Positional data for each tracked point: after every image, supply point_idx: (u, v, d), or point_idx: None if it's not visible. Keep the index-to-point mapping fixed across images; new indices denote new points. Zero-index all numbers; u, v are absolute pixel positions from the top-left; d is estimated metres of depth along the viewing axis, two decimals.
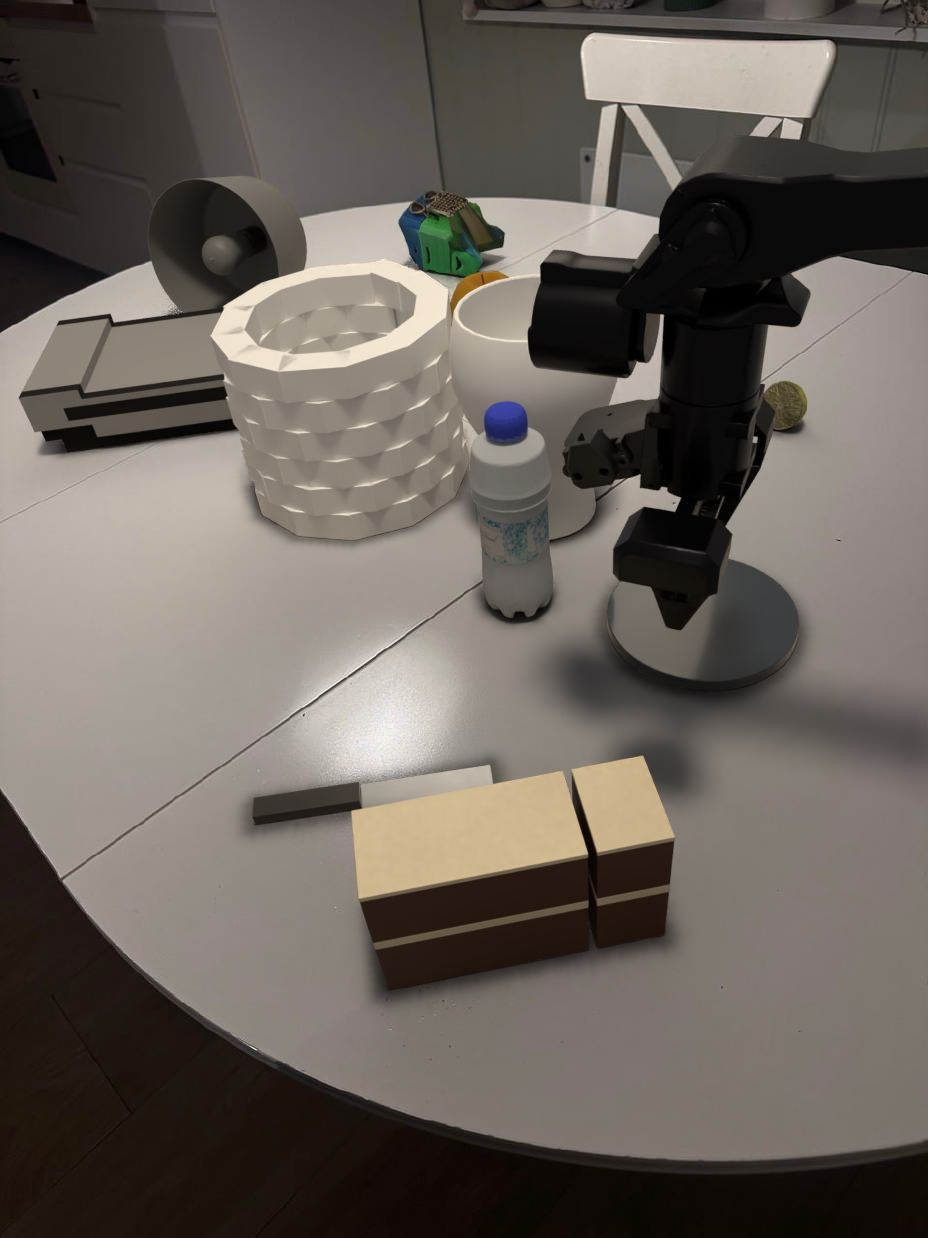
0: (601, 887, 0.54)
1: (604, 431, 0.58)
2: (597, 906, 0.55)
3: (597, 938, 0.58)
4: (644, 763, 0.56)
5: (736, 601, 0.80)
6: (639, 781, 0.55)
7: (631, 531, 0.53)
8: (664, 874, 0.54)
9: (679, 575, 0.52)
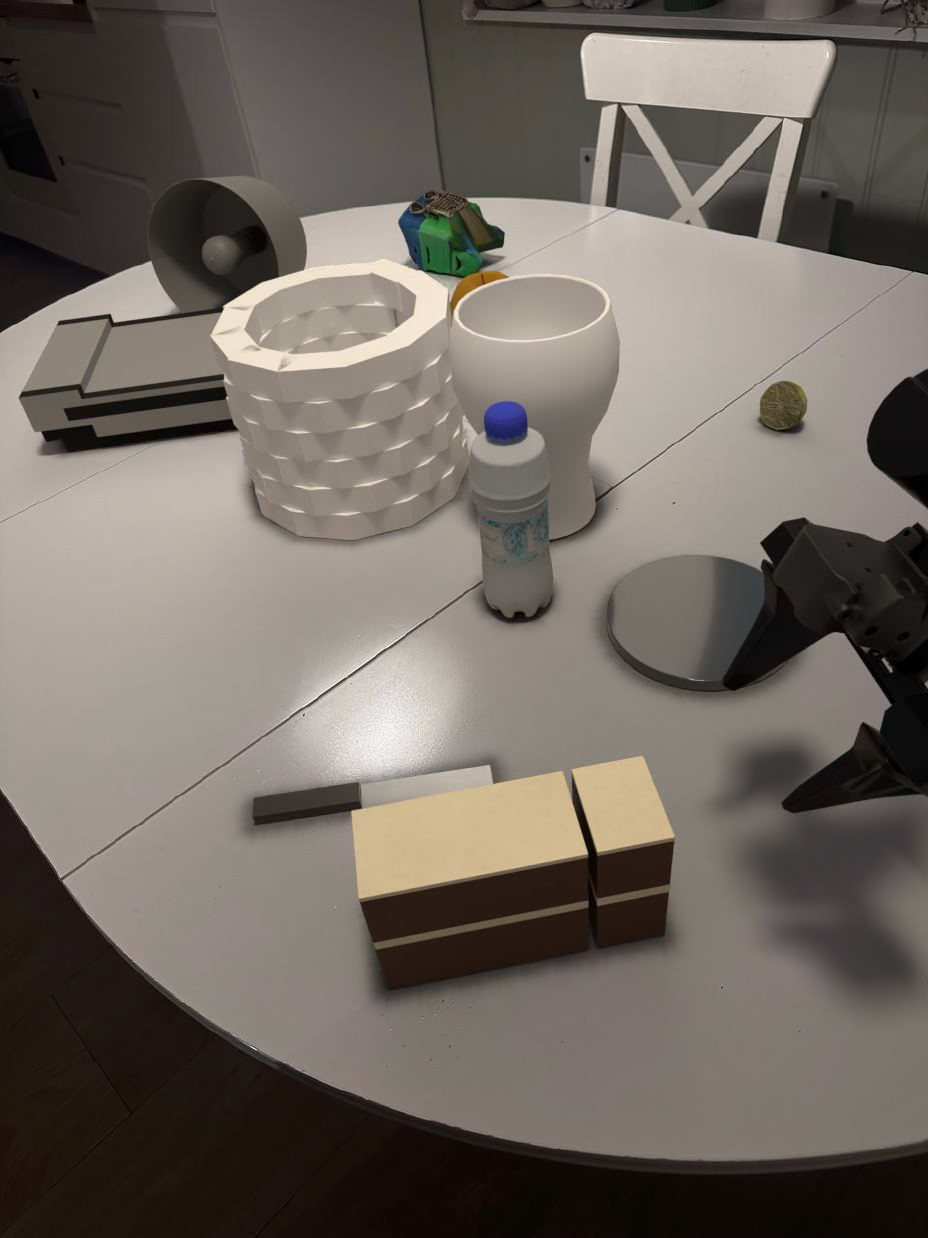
0: (601, 887, 0.54)
1: (876, 574, 0.44)
2: (597, 906, 0.55)
3: (597, 938, 0.58)
4: (644, 763, 0.56)
5: (736, 601, 0.80)
6: (639, 781, 0.55)
7: None
8: (664, 874, 0.54)
9: None
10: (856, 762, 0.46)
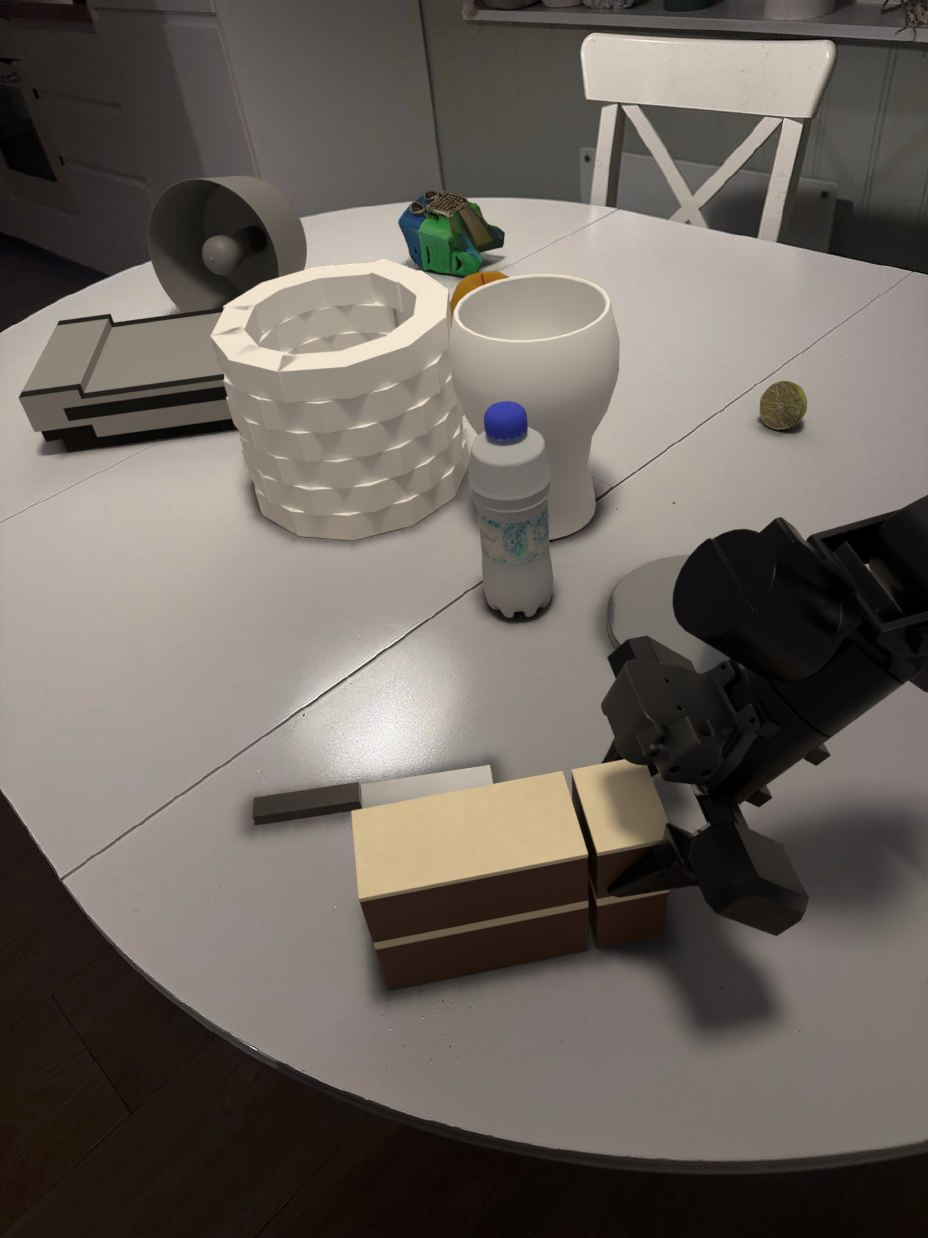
0: (601, 887, 0.54)
1: (686, 712, 0.47)
2: (597, 906, 0.55)
3: (597, 938, 0.58)
4: None
5: None
6: (639, 781, 0.55)
7: (746, 861, 0.45)
8: None
9: (778, 917, 0.47)
10: (664, 857, 0.51)
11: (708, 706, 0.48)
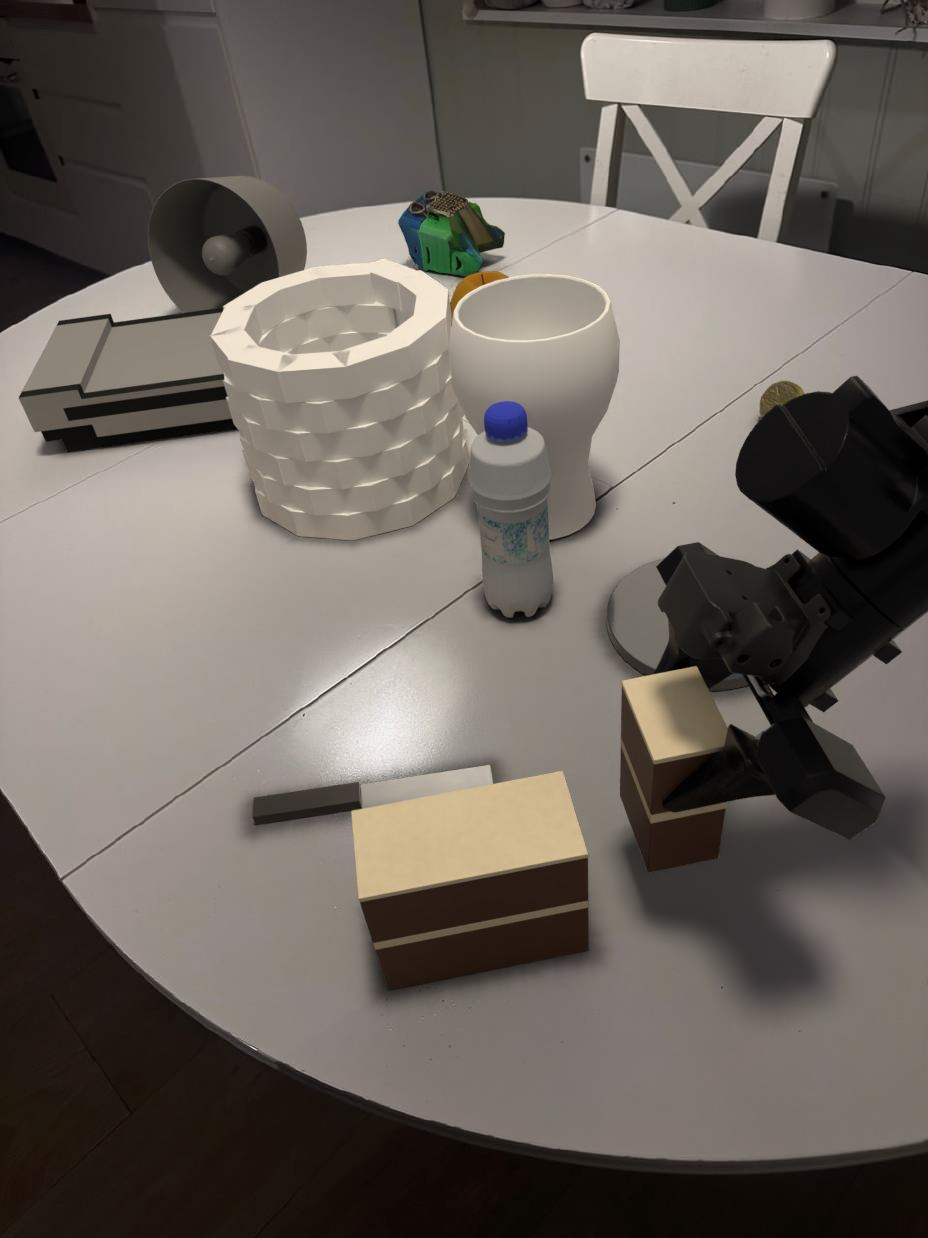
0: (656, 801, 0.51)
1: (752, 602, 0.45)
2: (650, 824, 0.53)
3: (648, 861, 0.55)
4: (698, 673, 0.53)
5: None
6: (694, 690, 0.52)
7: (820, 754, 0.43)
8: None
9: (853, 816, 0.44)
10: (726, 762, 0.48)
11: (774, 598, 0.46)
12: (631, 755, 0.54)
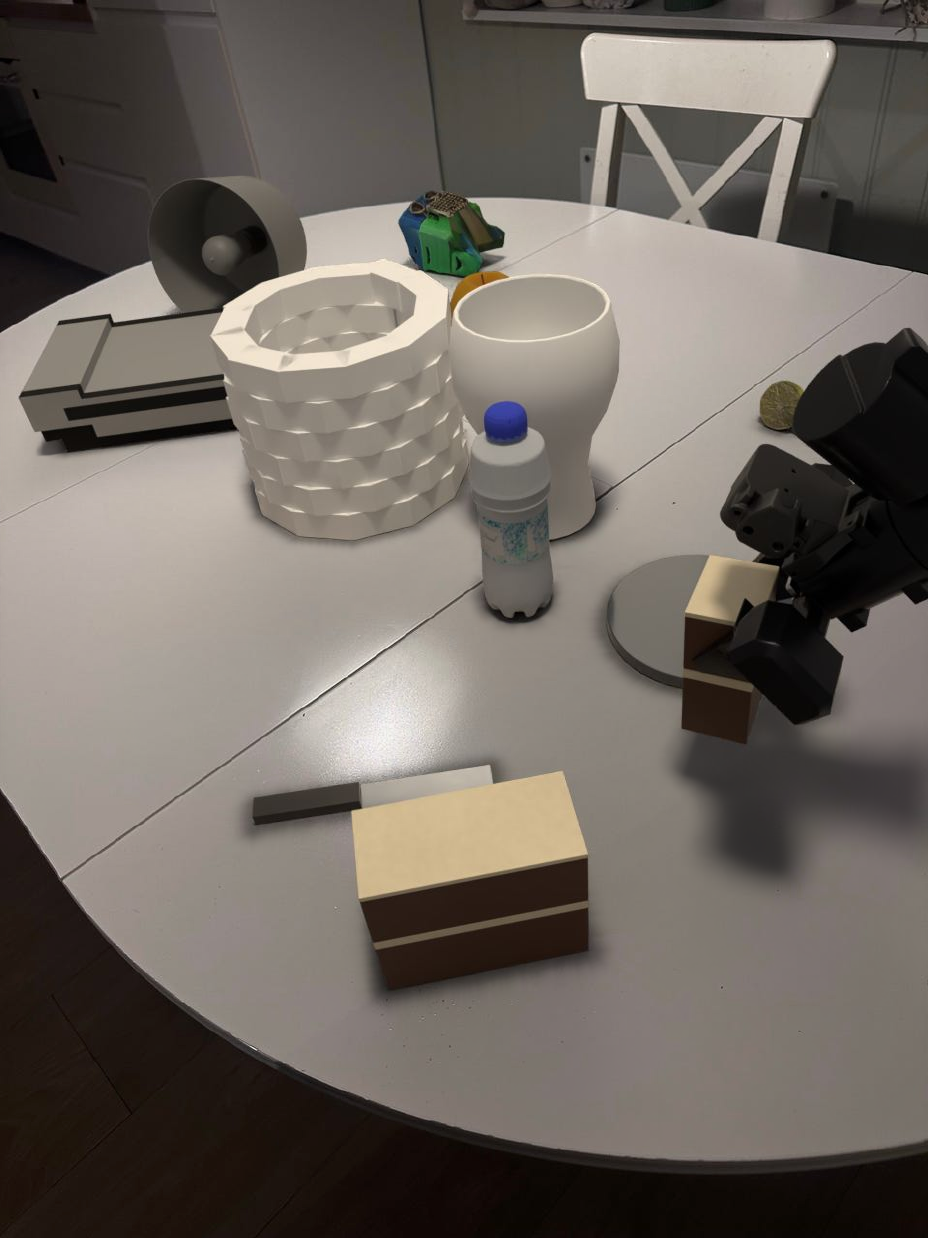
0: (687, 655, 0.60)
1: (791, 495, 0.51)
2: (683, 677, 0.61)
3: (682, 716, 0.64)
4: (775, 571, 0.59)
5: None
6: (760, 581, 0.58)
7: (779, 631, 0.49)
8: None
9: (794, 699, 0.50)
10: None
11: (819, 502, 0.51)
12: None
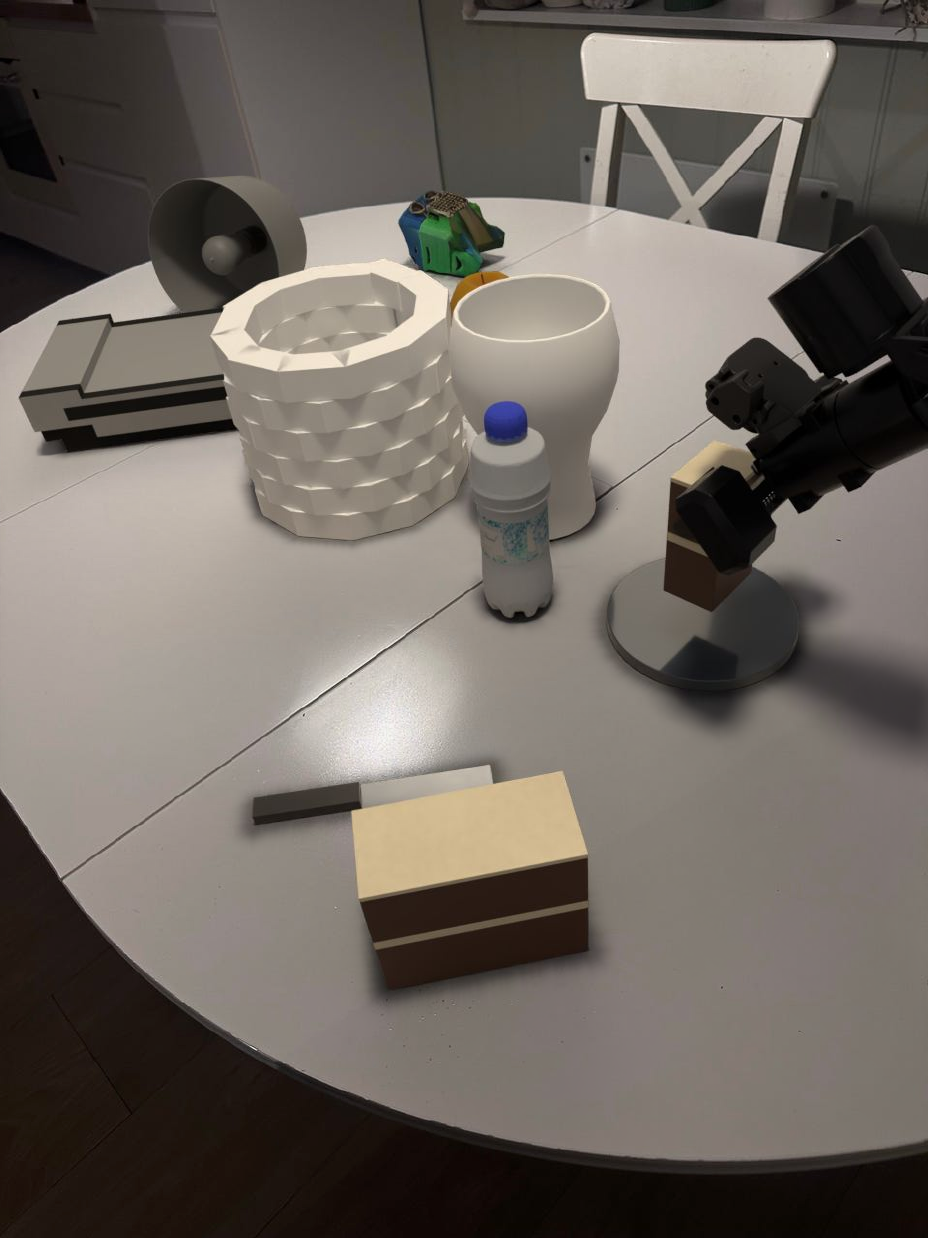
0: (670, 519, 0.69)
1: (762, 380, 0.59)
2: None
3: (664, 578, 0.74)
4: None
5: (736, 601, 0.80)
6: (745, 466, 0.67)
7: (717, 487, 0.58)
8: None
9: (719, 547, 0.59)
10: None
11: (787, 391, 0.59)
12: None
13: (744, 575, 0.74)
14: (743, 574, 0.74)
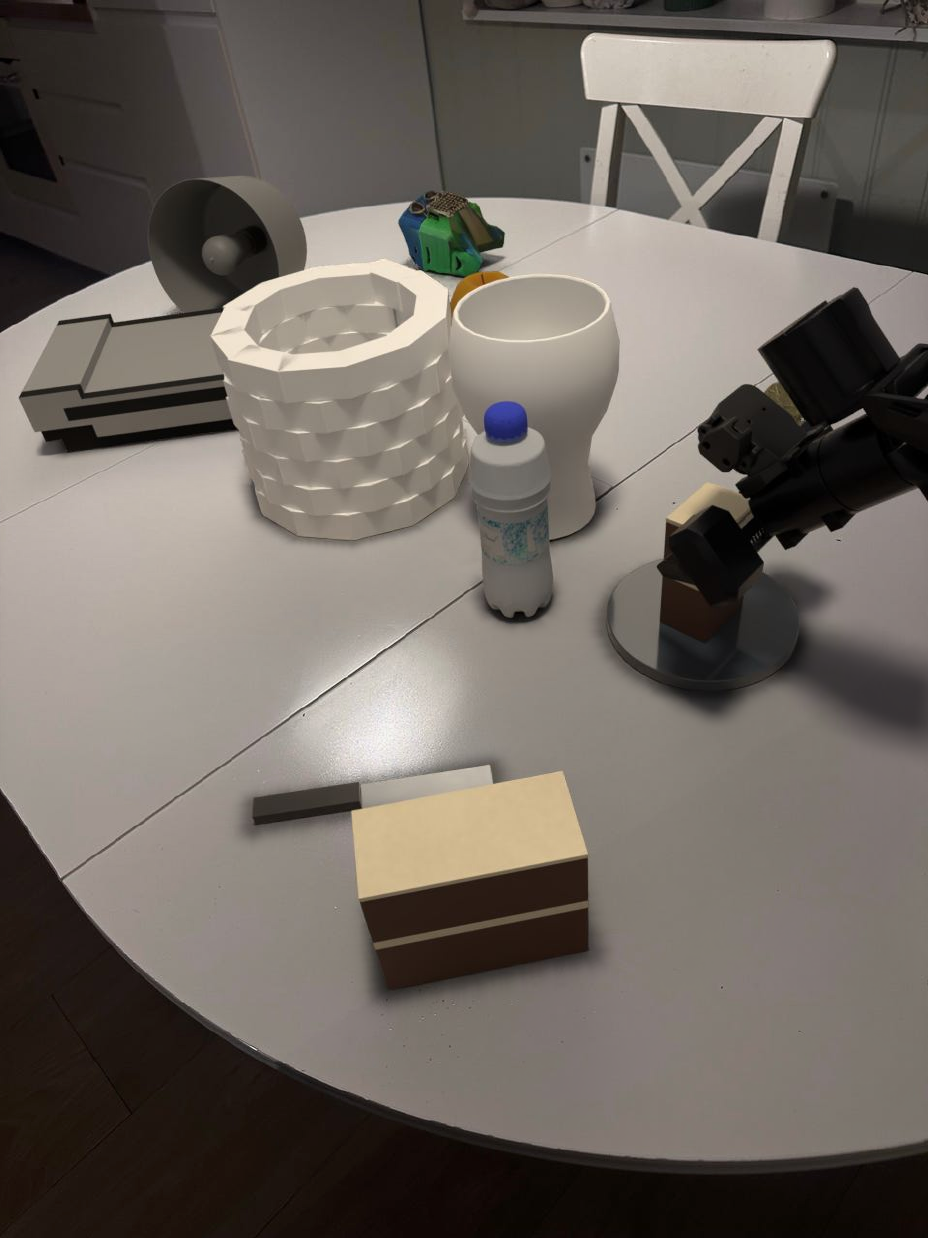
0: (666, 556, 0.74)
1: (751, 426, 0.63)
2: None
3: (660, 610, 0.78)
4: None
5: None
6: (736, 507, 0.71)
7: (708, 526, 0.62)
8: None
9: (709, 583, 0.63)
10: None
11: (774, 436, 0.63)
12: None
13: (736, 607, 0.78)
14: (735, 606, 0.78)
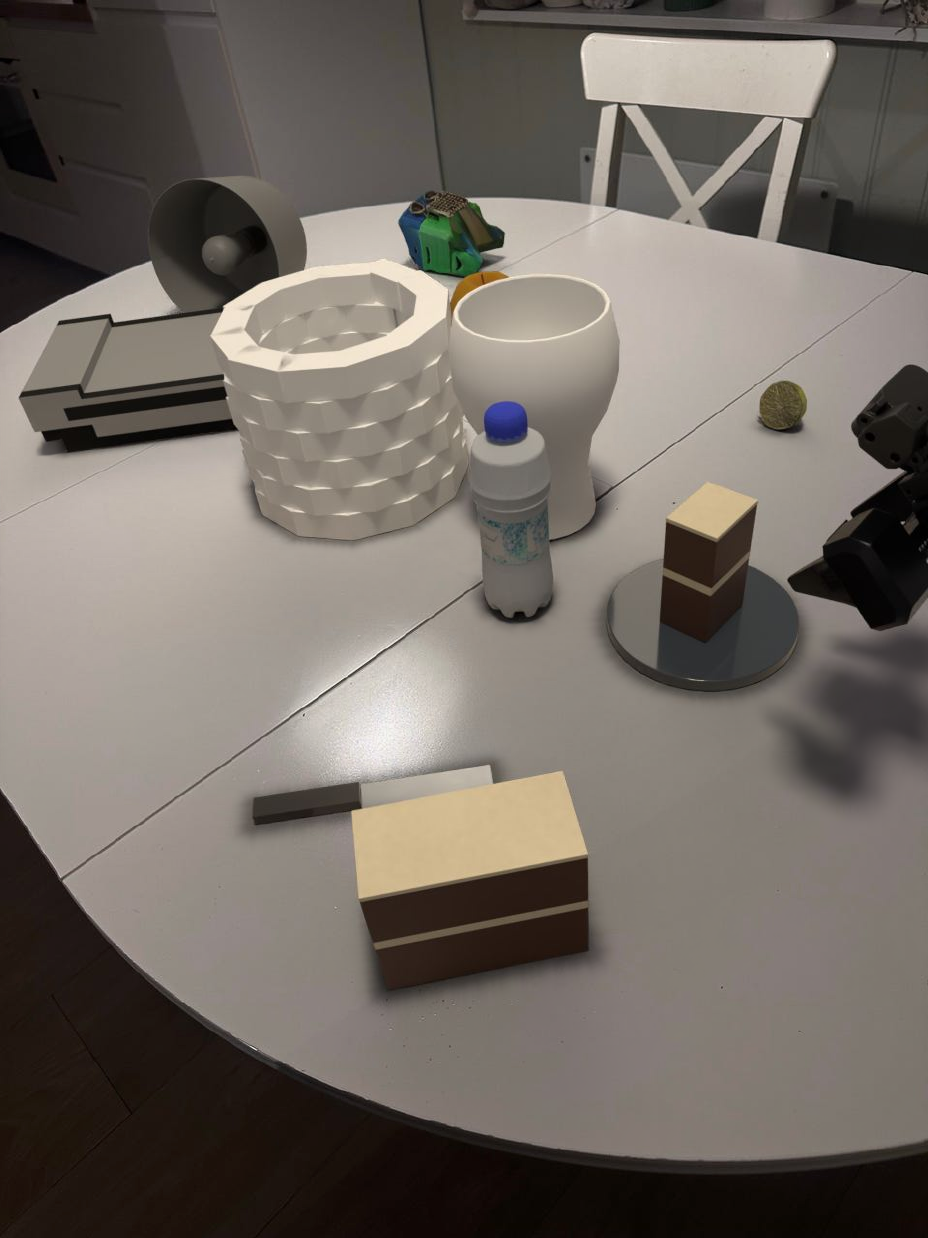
0: (666, 556, 0.74)
1: (922, 414, 0.53)
2: None
3: (660, 610, 0.78)
4: (752, 503, 0.72)
5: None
6: (736, 507, 0.71)
7: (874, 534, 0.52)
8: (708, 574, 0.71)
9: (874, 602, 0.53)
10: None
11: None
12: None
13: (736, 607, 0.78)
14: (735, 606, 0.78)
